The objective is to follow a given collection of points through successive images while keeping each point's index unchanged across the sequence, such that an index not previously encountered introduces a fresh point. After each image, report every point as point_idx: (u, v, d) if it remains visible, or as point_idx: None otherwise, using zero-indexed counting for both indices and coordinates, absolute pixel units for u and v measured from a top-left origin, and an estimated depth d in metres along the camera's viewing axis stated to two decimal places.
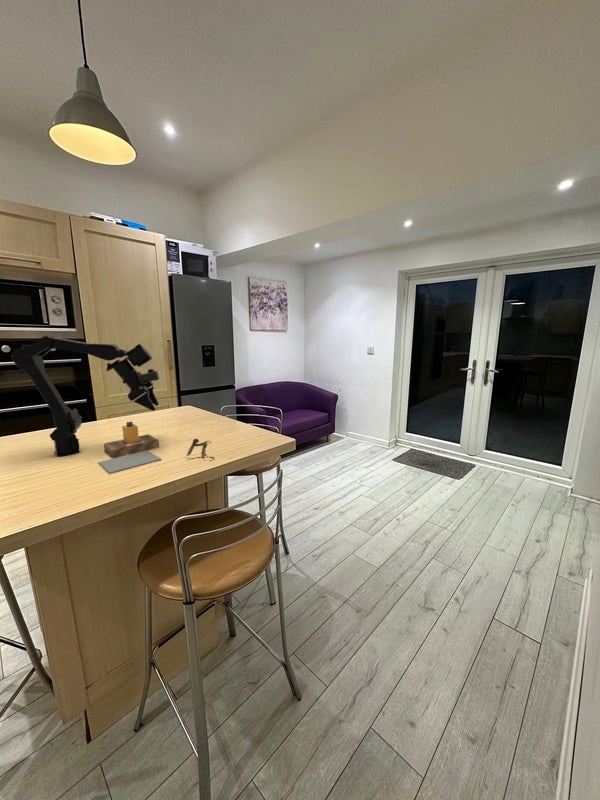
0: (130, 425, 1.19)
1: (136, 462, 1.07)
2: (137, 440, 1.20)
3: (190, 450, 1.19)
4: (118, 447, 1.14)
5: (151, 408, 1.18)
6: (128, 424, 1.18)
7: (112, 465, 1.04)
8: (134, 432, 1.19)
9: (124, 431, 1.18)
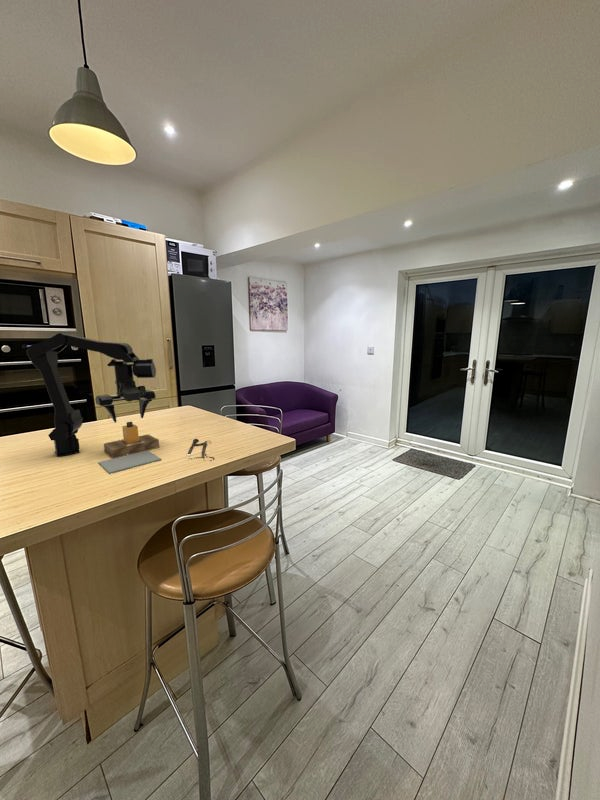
0: (130, 425, 1.19)
1: (136, 462, 1.07)
2: (137, 440, 1.20)
3: (190, 450, 1.19)
4: (118, 447, 1.14)
5: (113, 419, 1.15)
6: (128, 424, 1.18)
7: (112, 465, 1.04)
8: (134, 432, 1.19)
9: (124, 431, 1.18)
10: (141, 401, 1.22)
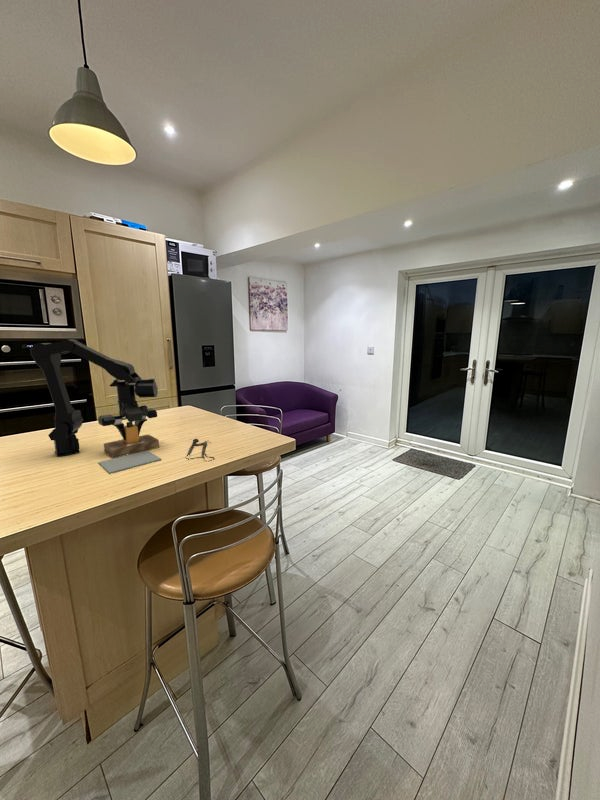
0: (130, 425, 1.19)
1: (136, 462, 1.07)
2: (137, 440, 1.20)
3: (190, 450, 1.19)
4: (118, 447, 1.14)
5: None
6: (128, 424, 1.18)
7: (112, 465, 1.04)
8: (134, 432, 1.19)
9: None
10: (136, 421, 1.21)
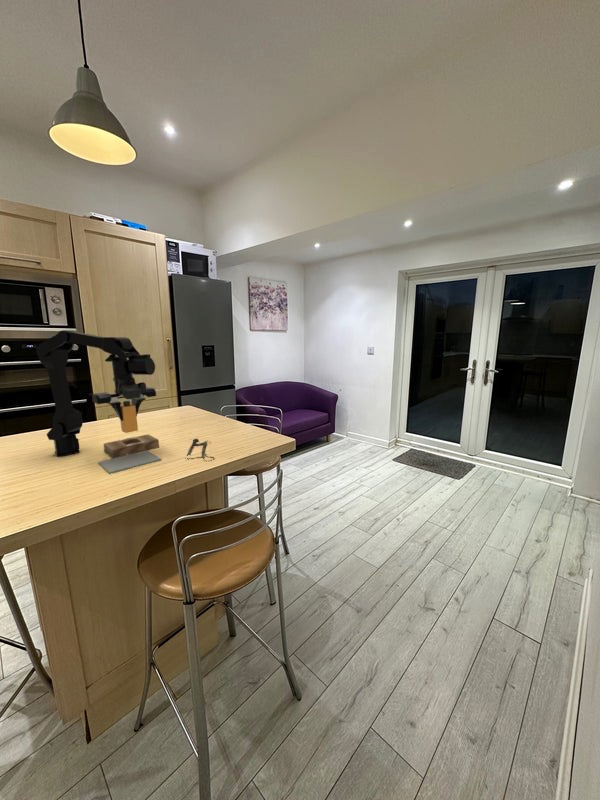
0: (127, 404, 1.10)
1: (136, 462, 1.07)
2: (135, 420, 1.12)
3: (190, 450, 1.19)
4: (118, 447, 1.14)
5: (119, 417, 1.10)
6: (125, 403, 1.10)
7: (112, 465, 1.04)
8: (132, 411, 1.11)
9: None
10: (134, 400, 1.13)
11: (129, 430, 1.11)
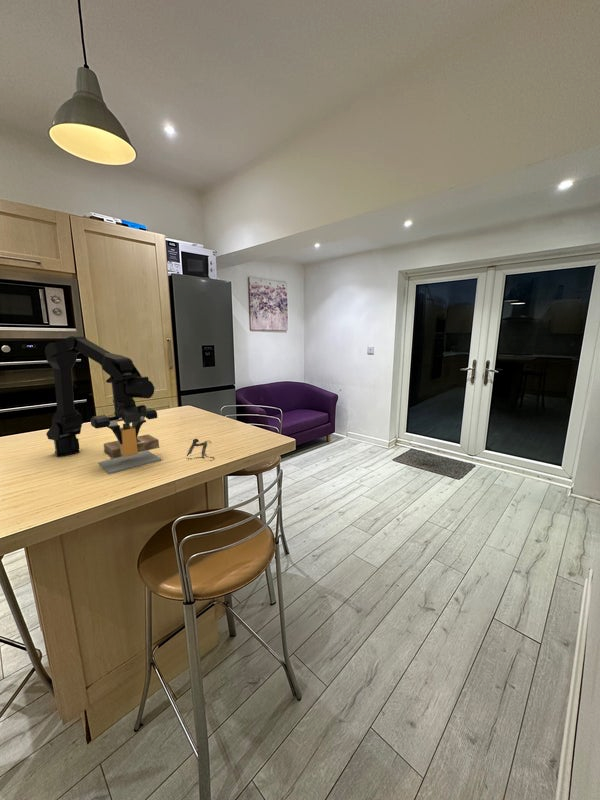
0: (127, 427, 1.06)
1: (136, 462, 1.07)
2: (135, 444, 1.07)
3: (190, 450, 1.19)
4: (118, 447, 1.14)
5: (118, 440, 1.06)
6: (125, 426, 1.05)
7: (112, 465, 1.04)
8: (132, 435, 1.06)
9: None
10: (134, 422, 1.08)
11: (128, 454, 1.06)
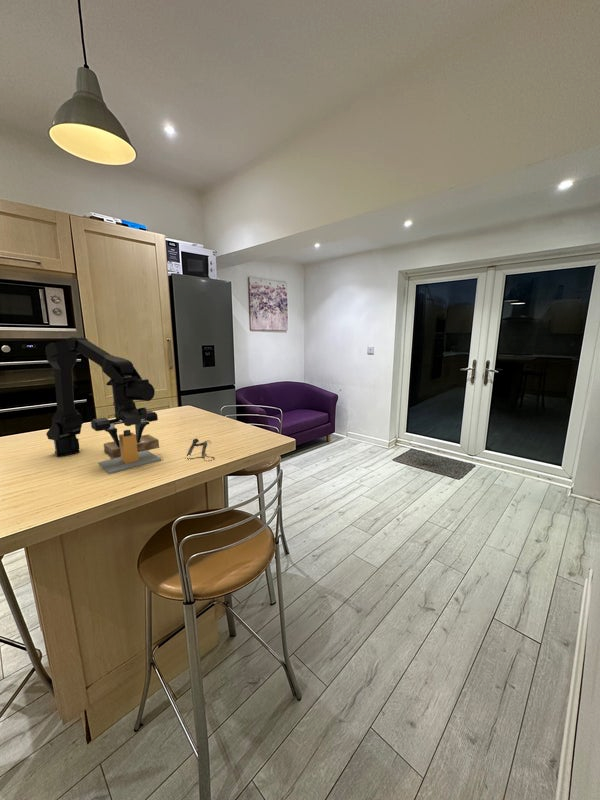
0: (127, 434, 1.06)
1: (136, 462, 1.07)
2: (135, 450, 1.08)
3: (190, 450, 1.19)
4: (118, 447, 1.14)
5: (115, 443, 1.05)
6: (125, 433, 1.06)
7: (112, 465, 1.04)
8: (132, 441, 1.06)
9: (121, 440, 1.06)
10: (137, 424, 1.09)
11: (129, 460, 1.07)
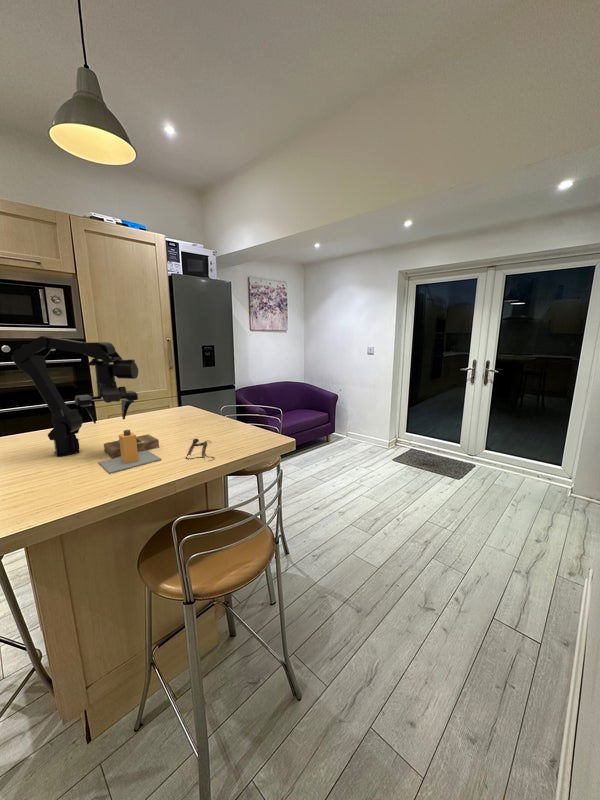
0: (127, 434, 1.06)
1: (136, 462, 1.07)
2: (135, 450, 1.08)
3: (190, 450, 1.19)
4: (118, 447, 1.14)
5: None
6: (125, 433, 1.06)
7: (112, 465, 1.04)
8: (132, 441, 1.06)
9: (121, 440, 1.06)
10: (123, 402, 1.19)
11: (129, 460, 1.07)
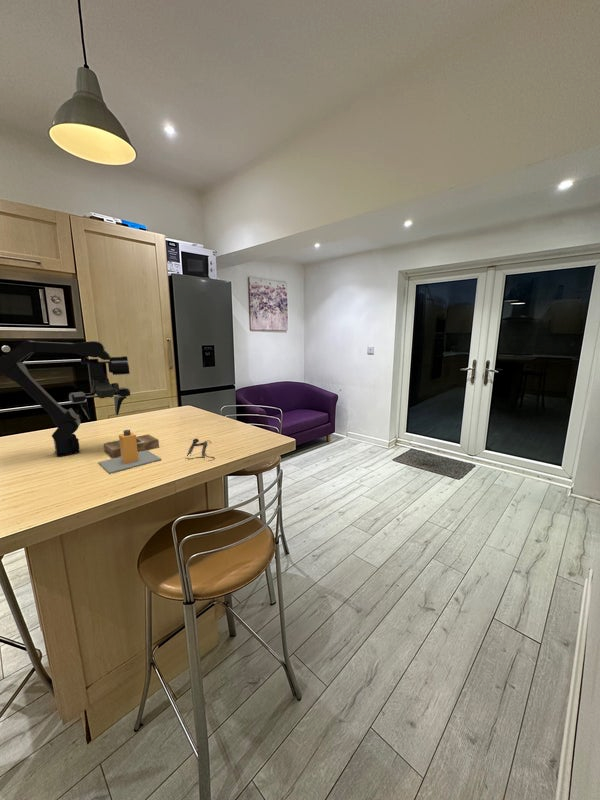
0: (127, 434, 1.06)
1: (136, 462, 1.07)
2: (135, 450, 1.08)
3: (190, 450, 1.19)
4: (118, 447, 1.14)
5: (87, 416, 1.17)
6: (125, 433, 1.06)
7: (112, 465, 1.04)
8: (132, 441, 1.06)
9: (121, 440, 1.06)
10: (116, 398, 1.23)
11: (129, 460, 1.07)
